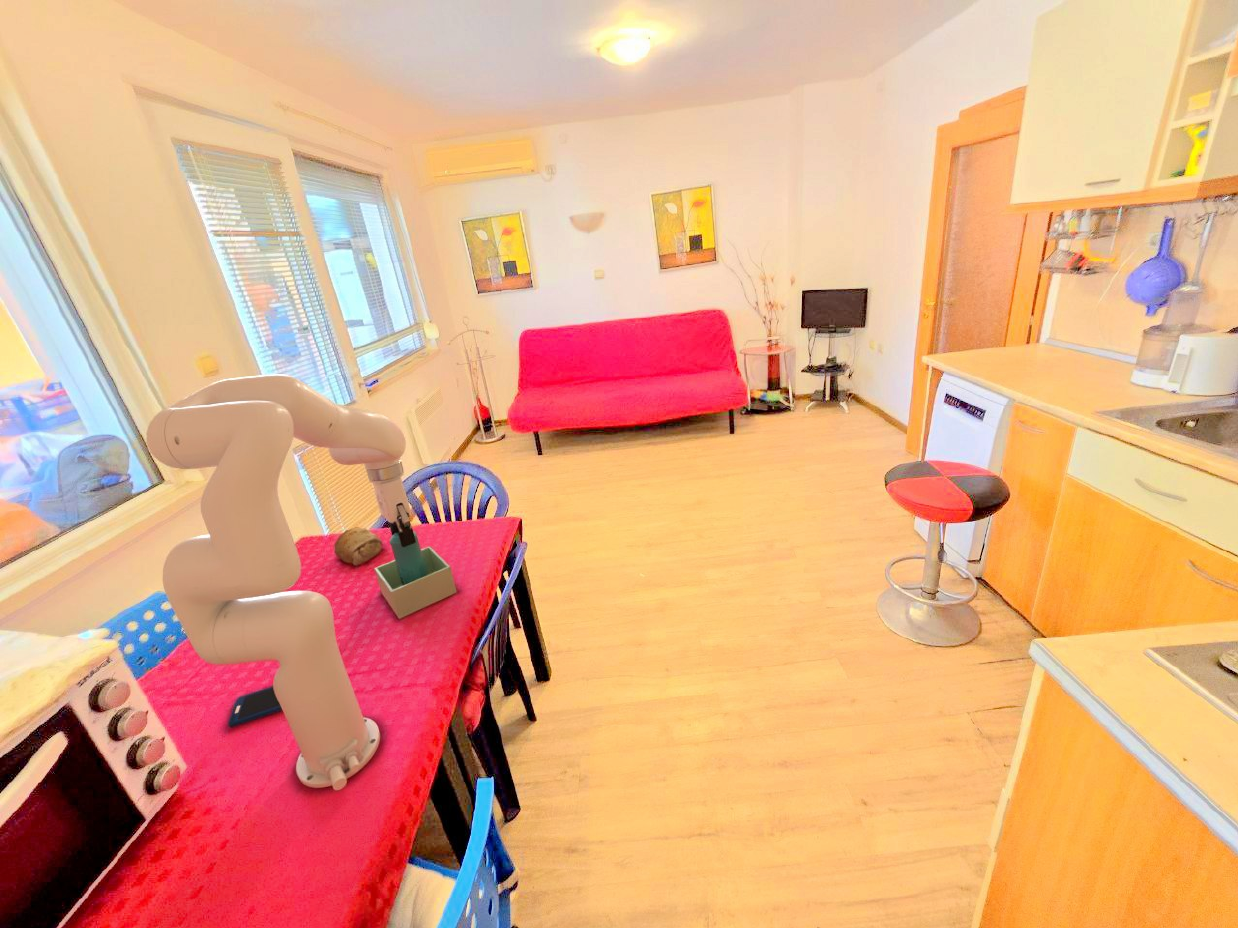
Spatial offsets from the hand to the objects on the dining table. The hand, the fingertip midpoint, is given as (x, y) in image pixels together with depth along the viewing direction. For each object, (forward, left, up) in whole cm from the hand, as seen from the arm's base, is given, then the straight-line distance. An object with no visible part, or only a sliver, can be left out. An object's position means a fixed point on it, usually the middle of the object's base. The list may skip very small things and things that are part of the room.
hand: (403, 538), depth 121 cm
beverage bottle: (0, 0, -15) cm, 15 cm away
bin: (0, 0, -16) cm, 16 cm away
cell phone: (-15, +33, -16) cm, 39 cm away
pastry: (+33, +6, -16) cm, 37 cm away
